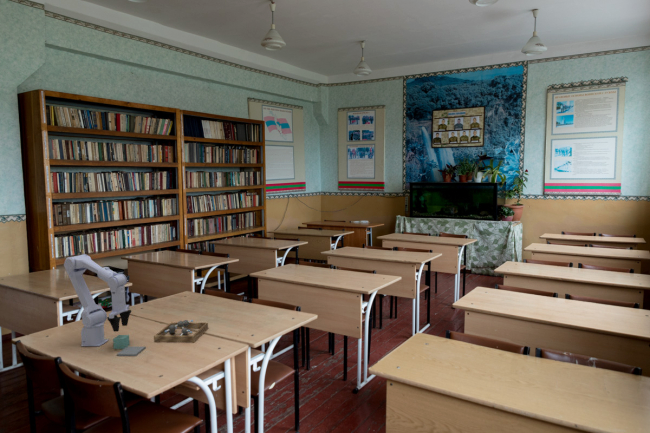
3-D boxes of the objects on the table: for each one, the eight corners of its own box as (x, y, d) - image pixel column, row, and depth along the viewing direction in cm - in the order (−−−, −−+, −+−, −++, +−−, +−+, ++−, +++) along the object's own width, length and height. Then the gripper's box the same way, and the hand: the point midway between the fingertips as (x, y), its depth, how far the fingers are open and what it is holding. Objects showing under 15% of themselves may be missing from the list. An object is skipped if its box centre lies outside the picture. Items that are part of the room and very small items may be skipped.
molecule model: (171, 348, 221) (171, 342, 212) (163, 333, 224) (162, 326, 215) (198, 333, 229) (199, 326, 220) (189, 318, 231) (190, 311, 223)
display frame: (154, 342, 211) (153, 336, 211) (171, 327, 231) (171, 322, 230) (194, 342, 209) (193, 336, 209) (208, 328, 229) (208, 322, 229)
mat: (116, 355, 195) (116, 354, 195) (127, 348, 204) (127, 346, 204) (135, 356, 194) (135, 354, 194) (145, 348, 203) (145, 346, 203)
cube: (113, 349, 204) (113, 338, 203) (119, 345, 209) (118, 334, 208) (124, 349, 203) (123, 338, 203) (129, 345, 208) (128, 334, 208)
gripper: (118, 304, 196) (120, 333, 198) (134, 296, 211) (136, 323, 212) (103, 304, 197) (105, 333, 198) (120, 296, 211) (122, 323, 212)
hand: (120, 328), depth 205 cm, fingers open, 7 cm apart
